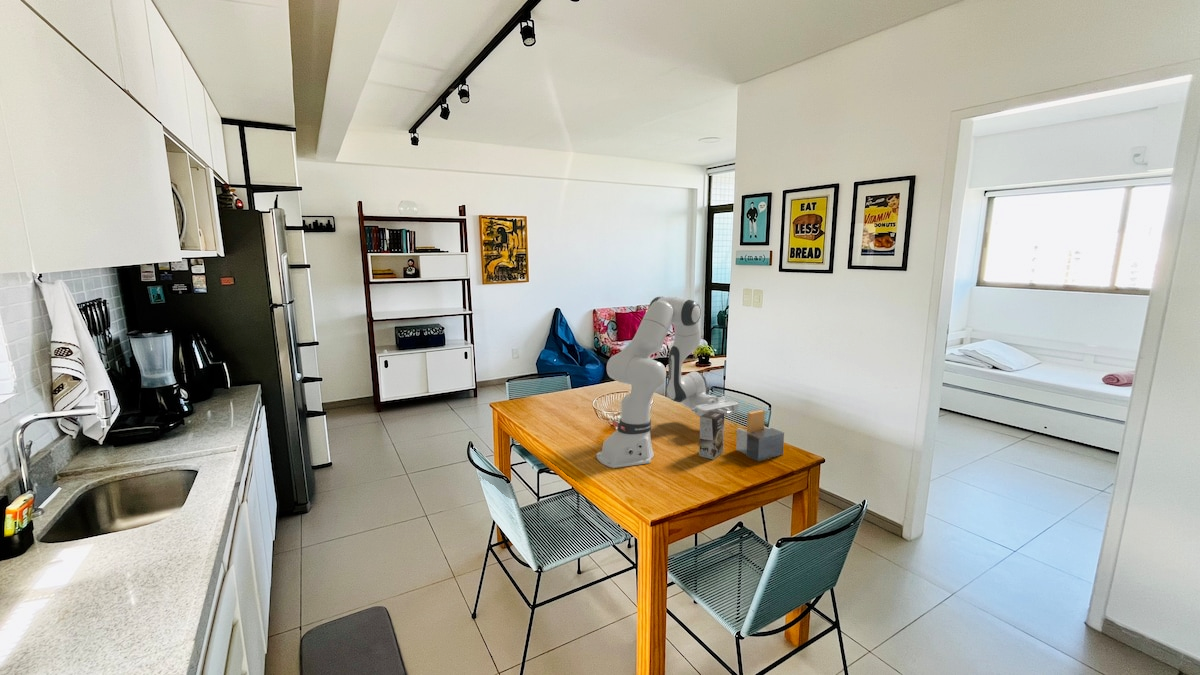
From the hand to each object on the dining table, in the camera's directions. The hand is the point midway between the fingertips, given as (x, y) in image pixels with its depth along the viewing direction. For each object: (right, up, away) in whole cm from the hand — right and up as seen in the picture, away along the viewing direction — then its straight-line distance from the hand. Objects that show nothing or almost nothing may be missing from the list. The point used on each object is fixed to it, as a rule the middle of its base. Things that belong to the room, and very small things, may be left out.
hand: (729, 413), depth 204 cm
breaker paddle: (+7, -7, -12) cm, 16 cm away
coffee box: (-11, -14, -14) cm, 22 cm away
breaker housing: (+8, -13, -13) cm, 20 cm away
